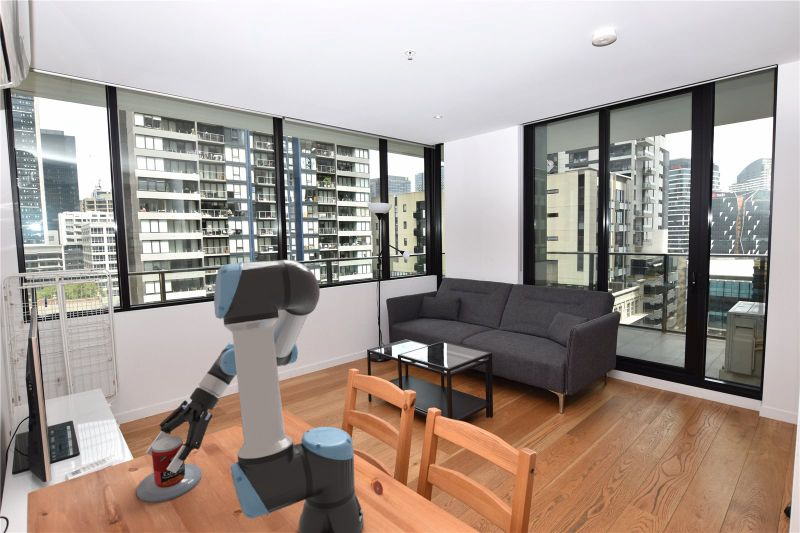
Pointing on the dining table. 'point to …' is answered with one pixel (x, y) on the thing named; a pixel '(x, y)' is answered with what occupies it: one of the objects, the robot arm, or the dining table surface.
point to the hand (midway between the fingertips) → (159, 462)
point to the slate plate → (153, 493)
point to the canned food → (166, 461)
